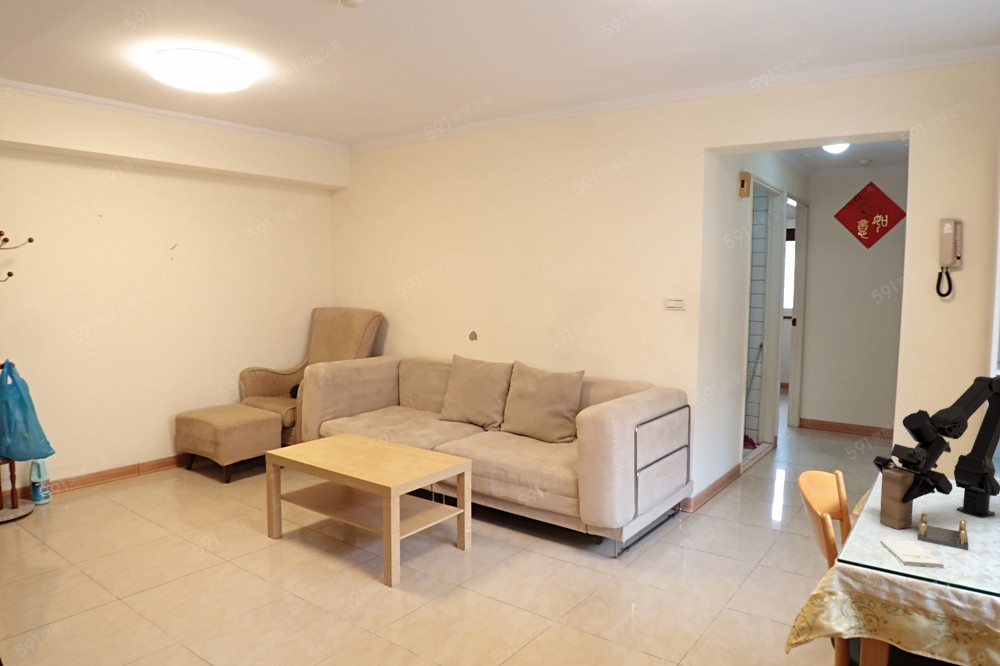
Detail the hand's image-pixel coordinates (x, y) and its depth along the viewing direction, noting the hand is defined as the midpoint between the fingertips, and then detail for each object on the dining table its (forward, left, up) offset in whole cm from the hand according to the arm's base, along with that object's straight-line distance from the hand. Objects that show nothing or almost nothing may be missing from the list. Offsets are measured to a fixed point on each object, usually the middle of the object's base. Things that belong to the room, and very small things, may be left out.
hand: (893, 498), depth 166 cm
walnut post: (-1, 0, -7) cm, 7 cm away
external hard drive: (+14, +14, -8) cm, 21 cm away
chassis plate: (-4, +10, -7) cm, 13 cm away
